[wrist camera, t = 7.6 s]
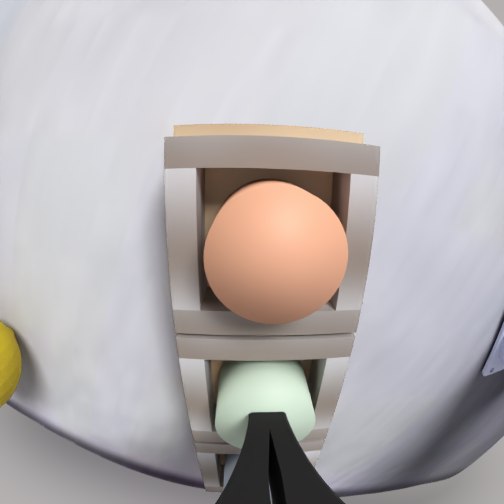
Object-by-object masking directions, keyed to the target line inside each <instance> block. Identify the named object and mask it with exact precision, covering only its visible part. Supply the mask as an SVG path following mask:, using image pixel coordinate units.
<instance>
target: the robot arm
mask: <svg viewBox="0 0 504 504" xmlns="http://www.w3.org/2000/svg"><path fill="white" fill-rule="evenodd" d="M503 369H504V322H503V325H502V327H501V330H500V332H499V335H498V337H497V340H496V342H495V344H494V347H493V349H492V351H491V353H490V356H489V358H488V360H487V362H486V364H485V366H484V368H483V370H482V374H483V375H484V376H488V375H490V374H493V373H495V372H498V371H501V370H503ZM269 486H270V489H269ZM270 492H271V498H272V503H273V504H345V503H344V502H343V501H342V500H341V499H340V498H339V497H338V496H337V495H336V494H335V493H334V492H333V491H332V490H331V488H330V487H329V486H328V485H327V484H326V483H325V481H324V480H323V479H322V478H321V476H320V475H319V474H318V472H317V471H316V470H315V468H314V467H313V465H312V464H311V462H310V461H309V459H308V458H307V456H306V454H305V453H304V451H303V449H302V448H301V446H300V444H299V442H298V441H297V439H296V437H295V435H294V433H293V430H292V428H291V426H290V424H289V421H288V419H287V416H286V413H284V412H251V413H250V414H249V418H248V427H247V432H246V436H245V440H244V443H243V446H242V449H241V452H240V455H239V458H238V460H237V463H236V465H235V468H234V470H233V472H232V474H231V477H230V479H229V481H228V483H227V485H226V486H225V488H224V490H223V492H222V494H221V495H220V497H219V499H218V500H217V502H216V503H215V504H271V499H270Z"/></svg>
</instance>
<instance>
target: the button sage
mask: <svg viewBox="0 0 504 504" xmlns="http://www.w3.org/2000/svg"><path fill="white" fill-rule="evenodd" d="M251 412H284V413H286V416H287V419H288V421H289V424H290V426H291V428H292V430H293V433H294V435H295V437H296V439H297V441H298V442H299V441H301V440H302V439H304V438H305V437H306V436H307V435H308V434H309V433H310V432H311V431H312V429H313V427H314V425H315V420H316V419H315V413H314V409H313V405H312V401H311V397H310V393H309V389H308V385H307V381H306V377H305V373H304V369H303V366H302V364H301V362H300V361H299V360H277V361H233V360H226V362H225V363H224V364H223V366H222V368H221V371H220V376H219V386H218V396H217V407H216V417H215V428H216V431H217V433H218V435H219V436H220V437H221V438H222V439H223V440H224V441H226V442H227V443H229V444H230V445H233V446H235V447H237V448H240V449H242V446H243V443H244V440H245V436H246V432H247V427H248V418H249V414H250V413H251Z"/></svg>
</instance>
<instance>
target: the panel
mask: <svg viewBox="0 0 504 504" xmlns="http://www.w3.org/2000/svg"><path fill="white" fill-rule="evenodd" d="M379 163H380V146H373V145H366V144H363V133H356V132H349V131H341V130H332V129H323V128H312V127H300V126H285V125H264V124H196V125H175V126H174V137H165V142H164V178H165V215H166V235H167V252H168V265H169V278H170V289H171V299H172V309H173V317H174V326H175V333H177V336H176V342H177V349H178V356H179V363H180V369H181V376H182V382H183V388H184V393H185V399H186V405H187V410H188V415H189V420H190V425H191V430H192V435H193V439H194V444H195V449H196V453H197V457H198V461H199V466H200V470H201V474H202V478H203V482H204V485H205V489H206V491H209V492H223V488H224V466H225V454H240V452H241V449H240V448H237V447H235V446H233V445H230V444H229V443H227V442H226V441H224V440H223V439H222V438H221V437H220V436H219V435H218V433H217V431H216V428H215V417H216V407H217V396H218V386H219V376H220V371H221V368H222V366H223V364H224V363H225V362H226V360H233V361H277V360H299V361H300V362H301V364H302V366H303V369H304V373H305V377H306V381H307V385H308V389H309V393H310V397H311V401H312V405H313V409H314V413H315V419H316V420H315V425H314V427H313V429H312V431H311V432H310V433H309V434H308V435H307V436H306V437H305V438H304V439H302V440H301V441H299V444H300V446H301V448H302V449H303V451H304V453H305V454H306V456H307V458H308V459H309V461H310V462H311V464H312V465H313V467H315V465H316V462H317V460H318V457H319V455H320V452H321V449H322V447H323V444H324V441H325V440H324V439H325V438H326V435H327V433H328V430H329V427H330V424H331V421H332V418H333V415H334V412H335V408H336V405H337V402H338V399H339V395H340V392H341V389H342V385H343V382H344V378H345V374H346V371H347V367H348V363H349V359H350V355H351V351H352V347H353V343H354V339H355V335H354V334H353V332H356V330H357V326H358V321H359V316H360V312H361V307H362V302H363V296H364V291H365V285H366V280H367V274H368V267H369V261H370V254H371V247H372V240H373V232H374V223H375V214H376V204H377V193H378V180H379ZM259 179H279V180H283V181H287V182H289V183H292V184H294V185H296V186H298V187H300V188H302V189H303V190H305V191H307V192H309V193H311V194H313V195H314V196H316V197H318V198H319V199H321V200H322V201H323V202H325V203H326V204H327V205H328V206H329V207H330V208H331V209H332V210H333V211H334V213H335V214H336V216H337V217H338V218H339V220H340V222H341V224H342V226H343V228H344V231H345V234H346V238H347V243H348V263H347V268H346V272H345V275H344V277H343V280H342V282H341V284H340V286H339V288H338V289H337V291H336V292H335V294H334V295H333V296H332V297H331V299H330V300H329V301H328V302H327V303H326V304H325V305H323V306H322V307H321V308H320V309H318V310H317V311H316V312H314V313H312V314H310V315H309V316H307V317H304V318H302V319H300V320H296V321H293V322H289V323H283V324H264V323H258V322H254V321H251V320H248V319H245V318H243V317H241V316H239V315H237V314H235V313H234V312H232V311H231V310H230V309H228V308H227V307H226V306H225V305H224V304H223V303H222V302H221V301H220V300H219V299H218V298H217V296H216V295H215V294H214V292H213V290H212V289H211V287H210V285H209V282H208V280H207V277H206V273H205V269H204V247H205V241H206V238H207V235H208V232H209V230H210V228H211V226H212V224H213V222H214V220H215V218H216V216H217V214H218V212H219V210H220V208H221V206H222V204H223V203H224V201H225V200H226V199H227V198H228V196H229V195H230V194H231V193H233V192H234V191H235V190H236V189H238V188H239V187H241V186H242V185H244V184H247V183H249V182H252V181H255V180H259Z"/></svg>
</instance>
